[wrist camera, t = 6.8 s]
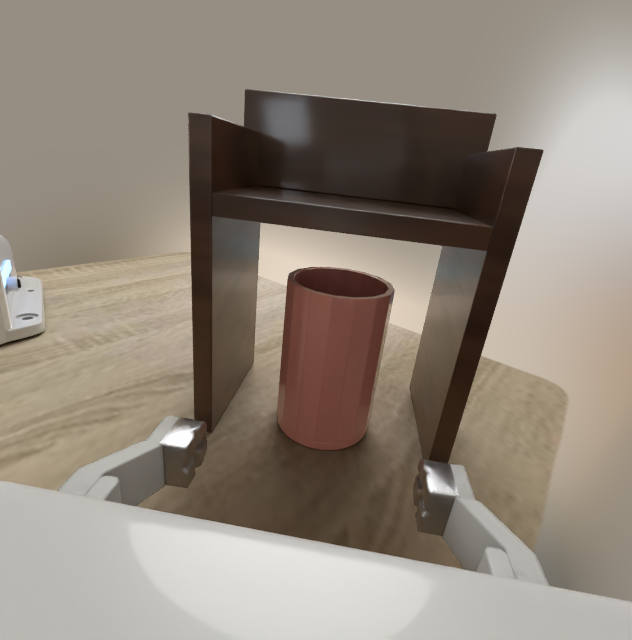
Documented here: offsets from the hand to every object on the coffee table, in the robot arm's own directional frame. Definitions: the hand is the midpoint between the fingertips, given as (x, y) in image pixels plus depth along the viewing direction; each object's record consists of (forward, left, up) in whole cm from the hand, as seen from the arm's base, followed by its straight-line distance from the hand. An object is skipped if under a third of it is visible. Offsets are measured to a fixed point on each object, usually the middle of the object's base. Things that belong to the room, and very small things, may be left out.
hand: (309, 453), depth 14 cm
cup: (-10, +6, -7) cm, 14 cm away
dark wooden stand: (-11, +7, -7) cm, 15 cm away
